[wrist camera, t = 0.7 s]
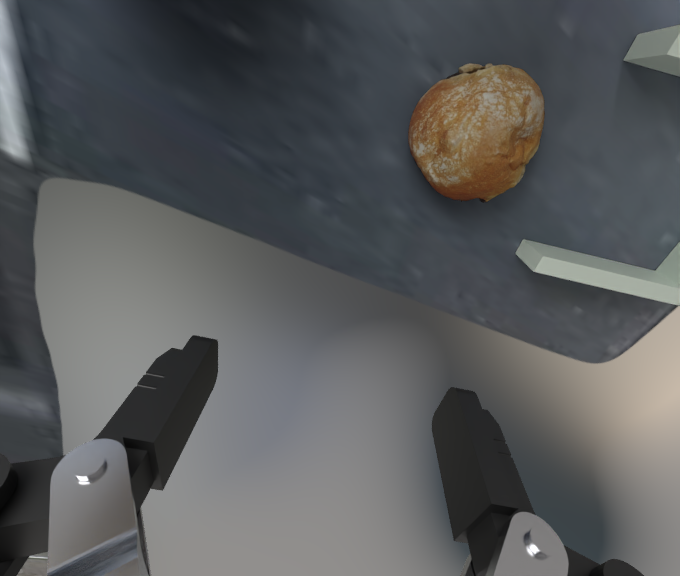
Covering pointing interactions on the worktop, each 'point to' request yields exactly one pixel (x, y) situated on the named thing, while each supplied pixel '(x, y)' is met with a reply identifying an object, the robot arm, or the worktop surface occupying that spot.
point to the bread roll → (477, 131)
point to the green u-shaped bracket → (662, 284)
